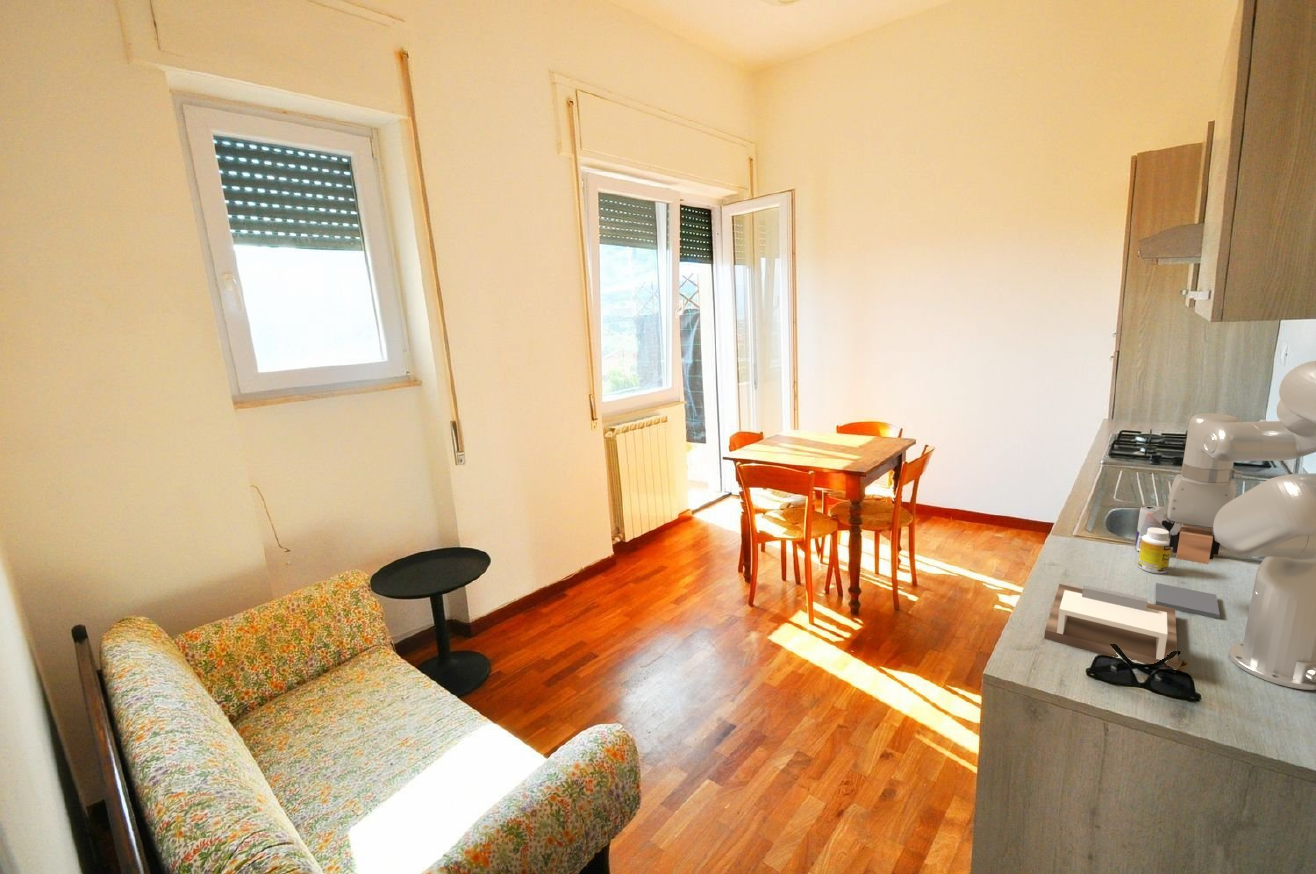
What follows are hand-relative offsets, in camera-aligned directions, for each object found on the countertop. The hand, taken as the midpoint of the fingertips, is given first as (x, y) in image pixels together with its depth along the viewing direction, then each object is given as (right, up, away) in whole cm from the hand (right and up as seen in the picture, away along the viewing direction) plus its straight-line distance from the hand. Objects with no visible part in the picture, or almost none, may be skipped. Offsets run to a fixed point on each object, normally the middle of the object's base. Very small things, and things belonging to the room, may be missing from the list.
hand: (1192, 552), depth 123 cm
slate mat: (+1, -11, +2) cm, 12 cm away
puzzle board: (-22, -14, -5) cm, 27 cm away
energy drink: (+13, -5, +26) cm, 29 cm away
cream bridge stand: (-27, -14, -11) cm, 32 cm away
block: (0, -1, 0) cm, 1 cm away
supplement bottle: (+6, -8, +17) cm, 20 cm away
